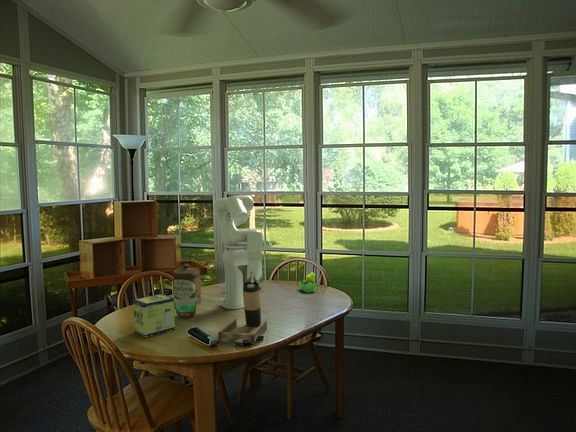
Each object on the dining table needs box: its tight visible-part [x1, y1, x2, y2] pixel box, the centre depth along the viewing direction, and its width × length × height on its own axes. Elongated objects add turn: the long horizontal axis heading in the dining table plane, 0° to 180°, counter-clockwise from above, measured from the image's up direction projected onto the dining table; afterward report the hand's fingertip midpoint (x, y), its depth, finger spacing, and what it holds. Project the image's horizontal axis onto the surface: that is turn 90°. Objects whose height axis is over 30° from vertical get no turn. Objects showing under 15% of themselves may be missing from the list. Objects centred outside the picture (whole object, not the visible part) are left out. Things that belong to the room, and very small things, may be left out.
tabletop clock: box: [238, 261, 265, 290], centre depth 297 cm, size 14×9×25 cm, turn 58°
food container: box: [173, 296, 198, 320], centre depth 241 cm, size 12×6×10 cm, turn 105°
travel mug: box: [243, 282, 262, 328], centre depth 226 cm, size 8×8×20 cm
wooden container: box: [172, 263, 202, 305], centre depth 269 cm, size 15×15×22 cm
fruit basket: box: [298, 271, 317, 293], centre depth 293 cm, size 11×9×11 cm
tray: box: [217, 318, 268, 345], centre depth 213 cm, size 16×20×4 cm
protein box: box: [132, 293, 176, 337], centre depth 220 cm, size 10×16×16 cm
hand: (255, 293), depth 230 cm, fingers closed
